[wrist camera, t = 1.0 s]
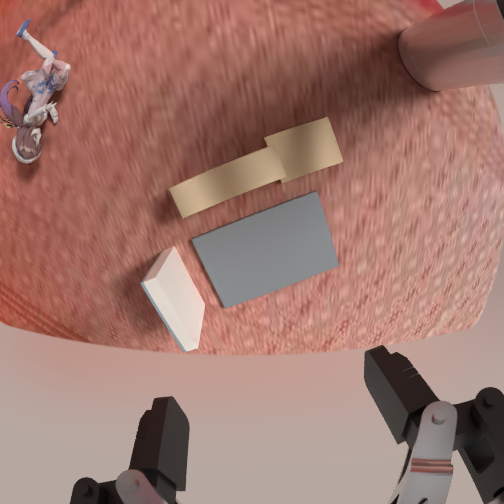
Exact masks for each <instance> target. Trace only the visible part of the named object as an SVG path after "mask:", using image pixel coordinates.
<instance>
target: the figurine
mask: <svg viewBox="0 0 504 504" xmlns="http://www.w3.org/2000/svg"><path fill="white" fill-rule="evenodd" d="M30 21H31V20H30V18H29V19H27V20H26V21H25V22H24V23H23V24H22V26H21V28H20V29H19V31H18V32H17V33H16V35H17V36H19V37H22V39H24V40H27V41H28V42H29V44H30V45H31V46H32V48H33V49H34V50H35V52H36V53H37V54H38V55H39V56H40V57H41V58H43V59H45V60H44V62H43V65H42V67H41V69H40V70H34V71H27V72H26V73H24V74H23V75H22V76H21V79H22V80H23V81H24V82H25V83H26V85H27V87H28V89H29V90H30V91H31V93H32V95H31V96H30V98H29V99H28V101H27V103H26V104H25V106H26V107H24V110H25V111H23V114H22V115H23V120H22V116H21V114H20V112H19V110H18V108H16V107H15V106H13V105H12V104H11V103H10V102H9V101H8V98H7V94H8V92H9V91H8V92H7V89H8V88H9V86H10V84H11V83H13V82H15V81H17V80H12V81H10V82H8V83H7V84H6V85H5V86H4V87H3V88H2V90H1V93H0V104H1V105H0V107H2V110H3V113H4V114H5V116H6V117H7V119H9V120H8V121H11V122H13V123H14V124H13V123H10V122H8V121H5V120H3V119H6V118H3V119H2V118H1V117H0V118H1V119H2V120H3V121H5V122H6V124H4V123H2V121H1V123H2V124H4V125H7V123H10V124H12V125H7V126H13V127H14V126H15V127H17V128H18V130H17V136H15V137H14V138H13V142H12V149H13V152H14V154H15V156H16V158H17V159H18V160H19V161H21V162H23V163H30V164H32V163H31V162H33V161H35V160H36V159H37V158H39V156H40V154H41V151H40V149H41V143H40V138H41V129H42V128H41V129H40V128H37V127H39V126H40V125H42V123H43V122H44V120H45V119H47V114H48V112H50V115H51V116H52V117H51V118H53V122H54V123H56V122H57V120H58V119H59V118H58V116H57V114H58V112H56V109H55V108H54V106H55V105H56V103H57V102H56V103H55V104H53V105H52V102H53V101H52V102H51V103H49V104H48V105H47V102H48V101H49V99H50V97H51V96H52V94H53V93H54V91H55V90H58V91H60V90H62V89H63V88H64V85H65V83H66V81H67V78H68V71H69V69H70V68H71V66H70V65H69V64H67V63H65V62H63V61H59V60H56V59H55V58H56V55H57V53H58V52H57V51H56V50H54V51H53V52H51V51H50V50H48V49H47V48H46V47H44V46H43V45H42V44H40V43H39V42H38V41H36V40H35V39H34V38H32V37H31V36H30V34H29V33H27V31H26V30H27V27H28V25H29V23H30ZM52 65H54V67H55V68H56V69H57V70H58V71H59V72H58V73H57V74H55V71H54V69H55V68H54V69H53V71H52V73H51V74H50V71H51V67H52ZM17 83H18V84H19V82H18V81H17ZM14 87H16V88H17V91H18V87H17V86H13V87H12V88H14ZM10 89H11V88H10ZM10 89H9V90H10ZM32 96H33V97H32ZM31 98H33V100H32V103H31ZM30 104H31V105H30ZM23 124H24V125H25V126H23ZM7 126H6V127H7ZM7 128H12V127H7ZM36 128H37V129H36ZM30 164H28V165H30Z"/></svg>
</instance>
